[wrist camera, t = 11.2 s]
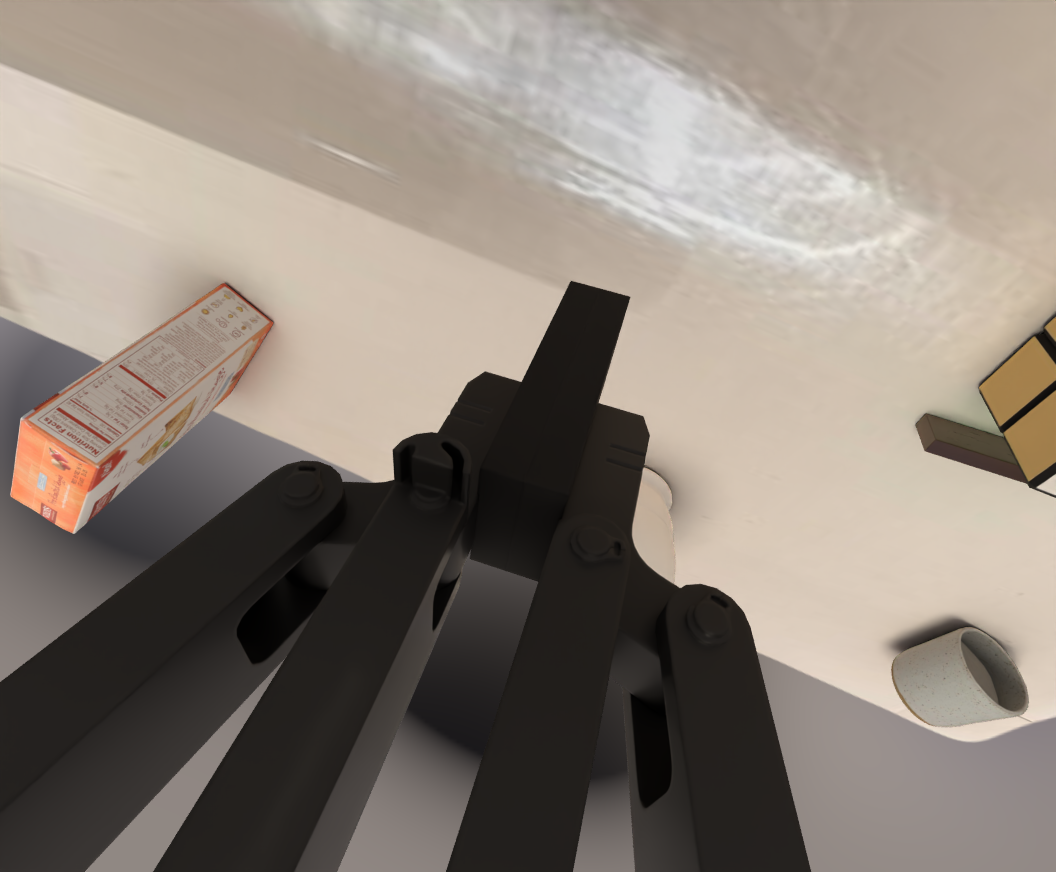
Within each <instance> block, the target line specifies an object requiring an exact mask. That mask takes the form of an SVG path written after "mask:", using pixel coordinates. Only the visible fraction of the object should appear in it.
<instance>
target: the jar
mask: <svg viewBox="0 0 1056 872" xmlns="http://www.w3.org/2000/svg"><path fill="white" fill-rule="evenodd" d="M642 472H643V473H642V479H641V484H640V489H639V494H638V499H637V505H636V510H635V515H634V520H633V526H632V538H633V542H634V546H635V548H636V550H637V551H638V553H639V555H640V557H641V558H642V559H643V560H644V562H645V563H646V564H647V565H648V566H649V567H650V568H652V569H653V570H654V571H655V572H657V573H658V574H659V575H661V576H662V577H664V578H665V579H667V580H668V581H670V582H671V583H673V584H674V580H675V549H674V534H673V525H672V520H671V517H670V514H669V510H670V508H671V505H672V494H671V490H670V488H669V486H668V485H667V483H666V482H665V481H664V480H663V479H662V478H661V477H660V476H659V475H658V474H656V473H655V472H653V471H651V470H649V469H647V468H645V467H644V468H643V471H642Z"/></svg>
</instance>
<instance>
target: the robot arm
mask: <svg viewBox="0 0 1056 872" xmlns="http://www.w3.org/2000/svg"><path fill="white" fill-rule="evenodd" d="M629 300H630V297H629V296H625V295H622V294H618V293H614V292H611V291H607V290H603V289H600V288H596V287H592V286H588V285H585V284H581V283H577V282H574V281H571V282H570V284H569V286H568V288H567V290H566V292H565V294H564V296H563V298H562V300H561V302H560V304H559V306H558V308H557V310H556V313H555V315H554V317H553V319H552V321H551V323H550V325H549V327H548V329H547V331H546V333H545V335H544V337H543V339H542V341H541V343H540V345H539V347H538V349H537V352H536V354H535V356H534V358H533V360H532V362H531V364H530V366H529V368H528V370H527V372H526V374H525V376H524V378H523V380H522V382H519V381H516V380H512V379H509V378H506V377H502V376H499V375H495V374H492V373H489V372H484V373H482V374H481V375H479V376H478V377H476V378H475V379H473V380H471V381H470V382H468V383H467V385H466V387H465V388H464V390H463V392H462V393H461V395H460V397H459V398H458V402H456V403H455V405H454V407H453V408H452V410H451V412H450V415H448V417H447V418H446V420H445V422H444V423H443V425H442V427H441V428H440V430H439V432H438V433H433V432H430V433H422V434H415V435H413V436H411V437H409V438H406V439H404V440H402V441H401V442H400V443H399V444H398V445H397V446H396V447H395V448H394V449H393V463H394V480H392V481H388V482H380V483H361V482H360V483H359V482H342V479H341V476H340V474H339V473H338V472H337V471H336V470H335V469H333V468H332V467H331V466H329V465H326V464H324V463H321V462H317V461H300V462H295V463H291V464H287V465H285V466H283V467H281V468H280V469H278V470H276V471H274V472H272V473H271V474H270V475H269V476H267V477H266V478H265V479H263V480H262V481H261V482H259V483H258V484H257V485H255V486H254V487H253V488H252V489H250V490H249V491H248V492H246V493H245V494H244V495H243V496H241V497H240V498H239V499H238V500H236V501H235V502H233V503H232V504H231V505H230V506H228V507H227V508H226V509H224V510H223V511H222V512H220V513H219V514H218V515H217V516H215V517H214V518H213V519H211V520H210V521H209V522H207V523H206V524H205V525H204V526H202V527H201V528H200V529H198V530H197V531H196V532H195V533H193V534H192V535H191V536H189V537H188V538H187V539H186V540H184V541H183V542H181V543H180V544H179V545H178V546H176V547H175V548H174V549H172V550H171V551H170V552H169V553H167V554H166V555H165V556H163V557H162V558H161V559H160V560H158V561H157V562H156V563H154V564H153V565H152V566H150V567H149V568H148V569H147V570H145V571H144V572H143V573H141V574H140V575H139V576H137V577H136V578H135V579H133V580H132V581H131V582H130V583H128V584H127V585H126V586H125V587H123V588H122V589H120V590H119V591H118V592H117V593H115V594H114V595H113V596H112V597H110V598H109V599H108V600H106V601H105V602H104V603H102V604H101V605H100V606H99V607H97V608H96V609H95V610H93V611H92V612H91V613H89V614H88V615H87V616H85V617H84V618H83V619H82V620H80V621H79V622H78V623H76V624H75V625H74V626H73V627H71V628H70V629H69V630H67V631H66V632H65V633H63V634H62V635H61V636H60V637H58V638H57V639H56V640H54V641H53V642H52V643H51V644H49V645H48V646H47V647H45V648H44V649H43V650H41V651H40V652H39V653H37V654H36V655H35V656H34V657H32V658H31V659H30V660H29V661H27V662H26V663H25V664H23V665H22V666H21V667H19V668H18V669H17V670H15V671H14V672H13V673H12V674H10V675H9V676H8V677H6V678H5V679H4V680H2V681H1V682H0V872H85V871H86V870H87V868H88V867H89V866H90V865H91V864H92V863H93V862H94V861H95V860H96V859H97V858H98V857H99V856H100V855H101V854H102V852H103V851H104V850H105V849H106V848H107V847H108V846H109V845H110V844H111V843H112V842H113V841H114V840H115V838H117V836H118V835H119V834H120V833H121V832H122V831H123V830H124V829H125V828H126V827H127V826H128V825H129V824H130V823H131V821H132V820H133V819H134V818H135V817H136V816H137V815H138V814H139V813H140V812H141V811H142V810H143V809H144V807H146V805H148V803H149V802H150V801H151V800H152V799H153V798H154V797H155V796H156V795H157V794H158V793H159V792H160V791H161V790H162V789H163V787H164V786H165V785H166V784H167V783H168V782H169V781H170V780H171V779H172V778H173V777H174V776H175V775H176V774H177V772H178V771H179V770H180V769H181V768H182V767H183V766H184V765H185V764H186V763H187V762H188V761H189V760H190V759H191V758H192V757H193V755H194V754H195V753H196V752H197V751H198V750H199V749H200V748H201V747H202V746H203V745H204V744H205V743H206V742H207V741H208V739H209V738H210V737H211V736H212V735H213V734H214V733H215V732H216V731H217V730H218V729H219V728H220V727H221V726H222V725H223V723H225V721H226V720H227V719H228V718H229V717H230V716H231V715H232V714H233V713H234V712H235V711H236V710H237V709H238V708H239V706H240V705H241V704H242V703H243V702H244V701H245V700H246V699H247V698H248V697H249V696H250V695H251V694H252V693H253V692H254V691H255V689H256V688H257V687H258V686H259V685H260V684H261V683H262V682H263V681H264V680H265V679H266V678H267V677H268V676H269V674H270V673H271V672H272V671H273V670H274V669H275V668H276V667H277V666H278V665H279V664H280V663H281V662H282V661H283V660H284V659H285V660H284V662H283V663H282V665H281V667H280V668H279V670H278V671H277V673H276V674H275V676H274V678H273V679H272V681H271V683H270V684H269V686H268V687H267V689H266V691H265V692H264V694H263V696H262V697H261V699H260V701H259V702H258V704H257V705H256V707H255V709H254V710H253V712H252V713H251V715H250V717H249V718H248V720H247V721H246V723H245V724H244V726H243V728H242V729H241V731H240V733H239V734H238V736H237V738H236V739H235V741H234V742H233V744H232V746H231V747H230V749H229V750H228V752H227V753H226V755H225V757H224V758H223V760H222V762H221V763H220V765H219V766H218V768H217V770H216V771H215V773H214V775H213V776H212V778H211V779H210V781H209V783H208V784H207V786H206V787H205V789H204V791H203V792H202V794H201V795H200V797H199V799H198V801H197V802H196V804H195V805H194V807H193V808H192V810H191V812H190V813H189V815H188V816H187V818H186V820H185V821H184V823H183V825H182V826H181V828H180V829H179V831H178V832H177V834H176V836H175V837H174V839H173V841H172V842H171V844H170V845H169V847H168V849H167V850H166V852H165V854H164V855H163V857H162V858H161V860H160V862H159V863H158V865H157V866H156V868H155V870H154V871H153V872H337V871H338V868H339V866H340V863H341V861H342V859H343V857H344V854H345V852H346V850H347V847H348V845H349V843H350V840H351V838H352V835H353V833H354V831H355V829H356V826H357V824H358V822H359V819H360V817H361V815H362V812H363V810H364V808H365V805H366V803H367V801H368V798H369V796H370V794H371V791H372V789H373V787H374V784H375V782H376V780H377V777H378V775H379V773H380V770H381V768H382V766H383V763H384V761H385V759H386V756H387V754H388V751H389V749H390V747H391V745H392V742H393V740H394V738H395V735H396V733H397V730H398V728H399V726H400V724H401V721H402V719H403V716H404V714H405V712H406V709H407V707H408V705H409V703H410V700H411V698H412V696H413V693H414V691H415V688H416V686H417V684H418V681H419V679H420V677H421V675H422V672H423V670H424V667H425V665H426V663H427V660H428V658H429V656H430V653H431V651H432V649H433V646H434V644H435V642H436V639H437V637H438V635H439V632H440V630H441V628H442V625H443V623H444V620H445V618H446V616H447V614H448V611H449V609H450V607H451V604H452V602H453V600H454V597H455V595H456V593H457V590H458V588H459V586H460V581H461V576H462V568H463V566H464V563H465V561H466V559H467V556H468V554H469V552H470V550H471V555H470V559H472V560H475V561H478V562H481V563H484V564H487V565H490V566H493V567H496V568H499V569H502V570H505V571H508V572H511V573H514V574H517V575H520V576H523V577H526V578H529V579H532V580H535V581H538V585H537V588H536V591H535V594H534V598H533V601H532V604H531V607H530V610H529V613H528V616H527V620H526V623H525V626H524V629H523V632H522V635H521V639H520V641H519V645H518V648H517V651H516V654H515V657H514V660H513V663H512V667H511V670H510V673H509V676H508V679H507V682H506V685H505V689H504V692H503V695H502V698H501V701H500V704H499V707H498V711H497V714H496V717H495V720H494V723H493V726H492V729H491V732H490V735H489V739H488V742H487V745H486V748H485V751H484V754H483V757H482V760H481V764H480V767H479V770H478V773H477V776H476V779H475V782H474V786H473V789H472V792H471V795H470V798H469V801H468V804H467V807H466V811H465V814H464V817H463V820H462V823H461V826H460V830H459V833H458V836H457V839H456V842H455V845H454V848H453V851H452V855H451V858H450V861H449V864H448V867H447V870H446V872H573V868H574V863H575V857H576V852H577V846H578V841H579V836H580V830H581V825H582V819H583V814H584V808H585V804H586V798H587V793H588V787H589V782H590V777H591V772H592V766H593V760H594V755H595V750H596V745H597V739H598V734H599V728H600V723H601V718H602V712H603V707H604V702H605V697H606V691H607V686H608V680H609V677H610V678H611V679H613V680H614V681H615V682H617V683H618V684H619V685H621V686H622V691H623V706H624V720H625V734H626V748H627V762H628V776H629V791H630V804H631V818H632V833H633V848H634V860H635V872H811V869H810V865H809V861H808V857H807V853H806V850H805V845H804V841H803V837H802V833H801V829H800V825H799V821H798V817H797V813H796V809H795V805H794V801H793V797H792V793H791V789H790V785H789V781H788V777H787V772H786V769H785V765H784V760H783V757H782V753H781V748H780V744H779V740H778V736H777V732H776V728H775V724H774V720H773V716H772V712H771V708H770V704H769V700H768V696H767V692H766V689H765V684H764V680H763V676H762V672H761V668H760V664H759V660H758V656H757V652H756V648H755V643H754V639H753V635H752V631H751V627H750V625H749V623H748V621H747V618H746V616H745V614H744V612H743V611H742V609H741V608H740V607H739V606H738V605H737V604H736V602H735V601H734V600H733V599H732V598H731V597H729V596H728V595H726V594H725V593H723V592H721V591H720V590H718V589H717V588H713V587H710V586H706V585H703V584H694V585H685V586H683V587H682V588H679V587H677V586H676V585H674V584H673V583H671V582H670V581H668V580H667V579H665V578H664V577H662V576H661V575H659V574H658V573H657V572H655V571H654V570H653V569H652V568H650V567H649V566H648V565H647V564H646V563H645V562H644V560H643V559H642V558H641V557H640V555H639V553H638V551H637V550H636V548H635V546H634V542H633V538H632V526H633V520H634V515H635V510H636V505H637V499H638V494H639V489H640V484H641V479H642V473H643V472H642V471H643V468H644V463H645V458H646V457H645V456H646V452H647V447H648V442H649V437H650V435H649V432H648V429H647V426H646V423H645V420H644V417H643V416H640V415H637V414H634V413H630V412H627V411H623V410H620V409H617V408H613V407H610V406H606V405H603V404H600V403H599V399H600V396H601V393H602V390H603V386H604V383H605V380H606V376H607V373H608V370H609V366H610V363H611V360H612V356H613V353H614V350H615V346H616V343H617V340H618V337H619V333H620V330H621V327H622V323H623V320H624V317H625V313H626V310H627V307H628V303H629ZM286 656H287V657H286Z"/></svg>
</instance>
